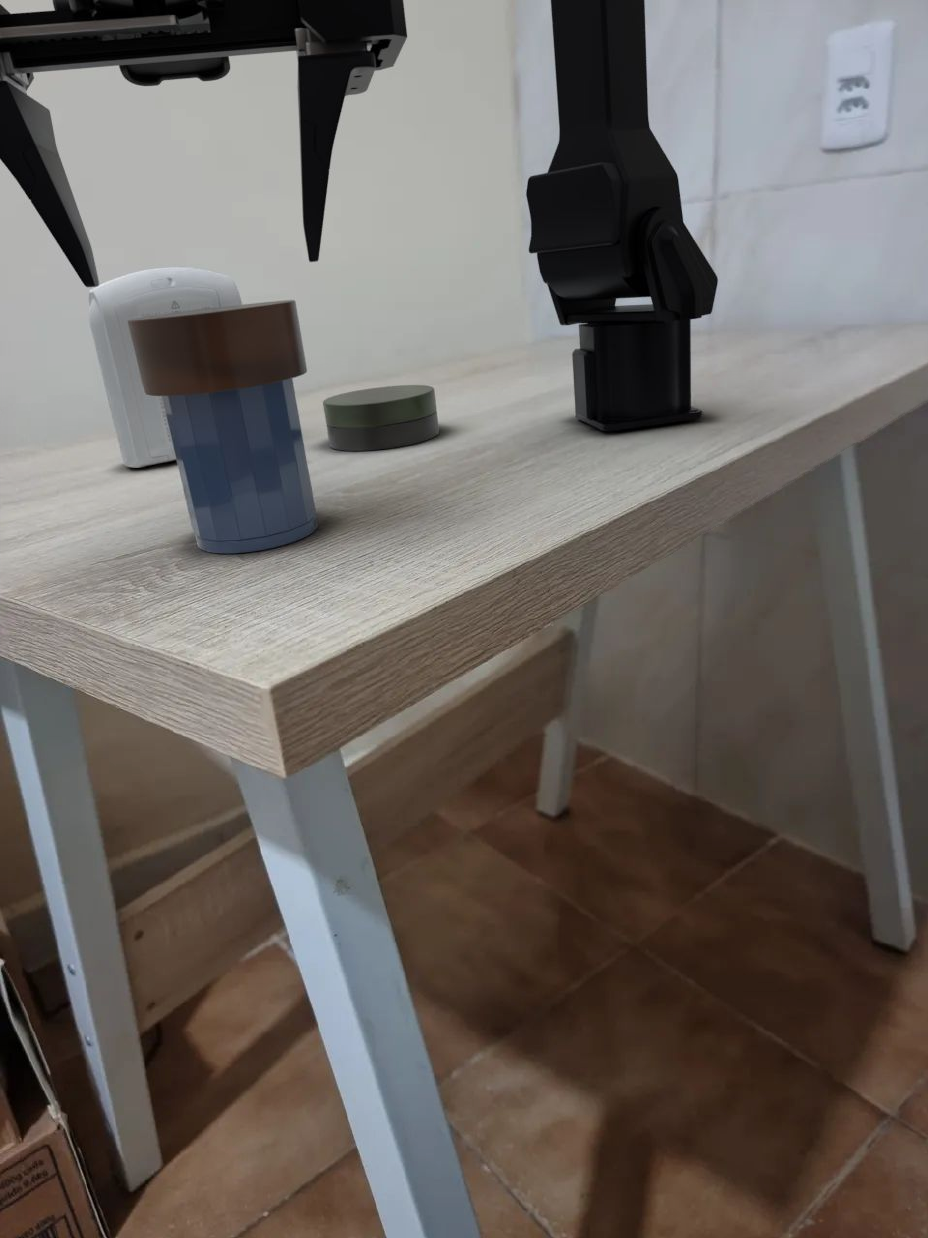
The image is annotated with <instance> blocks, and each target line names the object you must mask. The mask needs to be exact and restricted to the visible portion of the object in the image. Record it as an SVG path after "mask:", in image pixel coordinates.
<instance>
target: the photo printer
mask: <svg viewBox="0 0 928 1238" xmlns="http://www.w3.org/2000/svg"><path fill="white" fill-rule="evenodd" d="M235 305H243V301H242V298H241V295H240V292H239V289H238V286H237V284H236V282H235V280H234V278H233V277H232V276H230V275H227V274H224V273H220V272H217V271H212V270H208V269H202V268H196V267H183V266H182V267H181V266H180V267H177V266H174V267H172V266H171V267H158V268H157V267H155V268H150V269H143V270H139V271H133V272H131V273H127V274H124V275H121V276H118V277H115V278H113V279H109V280H108V281H105V282H104V283H101V284H99V286H97V287H92V288H91V289H90V290H88V306H89V309H88V310H89V311H88V321H89V328H90V331H91V334H92V339H93V343H94V347H95V352H96V355H97V360H98V364H99V369H100V373H101V376H102V381H103V385H104V388H105V389H104V390H105V393H106V397H107V401H108V407H109V409H110V412H111V413H110V414H111V417H112V421H113V427H114V430H115V434H116V438H117V442H118V447H119V451H120V454H121V458H122V462H123V464H124V466H126V467H127V468H134V469H138V468H144V467H147V466H152V465H153V466H154V465H158V464H163V463H168V462H173V461H177V460H176V455H175V451H174V447H173V442H172V438H171V434H170V430H169V425H168V421H167V417H166V412H165V408H164V404H163V400H162V396H151V395H147V394H145V392H144V388H143V384H142V380H141V375H140V371H139V367H138V363H137V359H136V355H135V351H134V346H133V342H132V338H131V334H130V330H129V326H128V320H130V319H135V318H141V317H148V316H155V315H162V314H169V313H177V312H185V311H193V310H201V309H209V308H217V307H226V306H235Z"/></svg>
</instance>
